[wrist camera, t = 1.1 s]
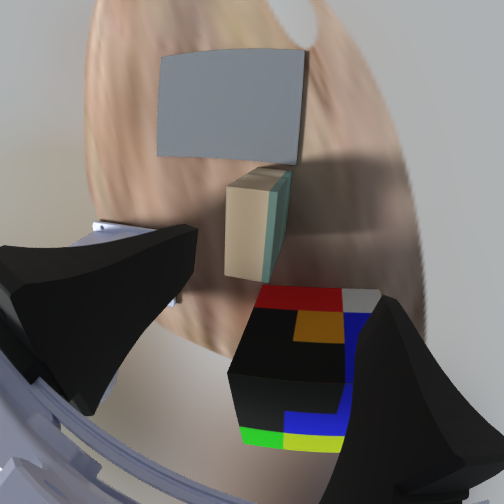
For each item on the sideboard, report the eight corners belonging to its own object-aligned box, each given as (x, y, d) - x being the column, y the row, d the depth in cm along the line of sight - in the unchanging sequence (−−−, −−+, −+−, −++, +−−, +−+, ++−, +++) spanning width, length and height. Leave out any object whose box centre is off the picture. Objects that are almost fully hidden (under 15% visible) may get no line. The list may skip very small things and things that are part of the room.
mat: (158, 155, 20) (157, 156, 20) (163, 57, 17) (161, 57, 16) (296, 164, 18) (295, 165, 18) (304, 51, 15) (304, 50, 14)
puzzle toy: (379, 289, 21) (401, 382, 12) (360, 368, 25) (362, 452, 16) (262, 284, 23) (227, 373, 15) (267, 363, 28) (243, 443, 19)
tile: (253, 231, 21) (224, 275, 15) (257, 167, 19) (226, 186, 13) (285, 235, 21) (268, 283, 15) (292, 171, 19) (277, 192, 13)
